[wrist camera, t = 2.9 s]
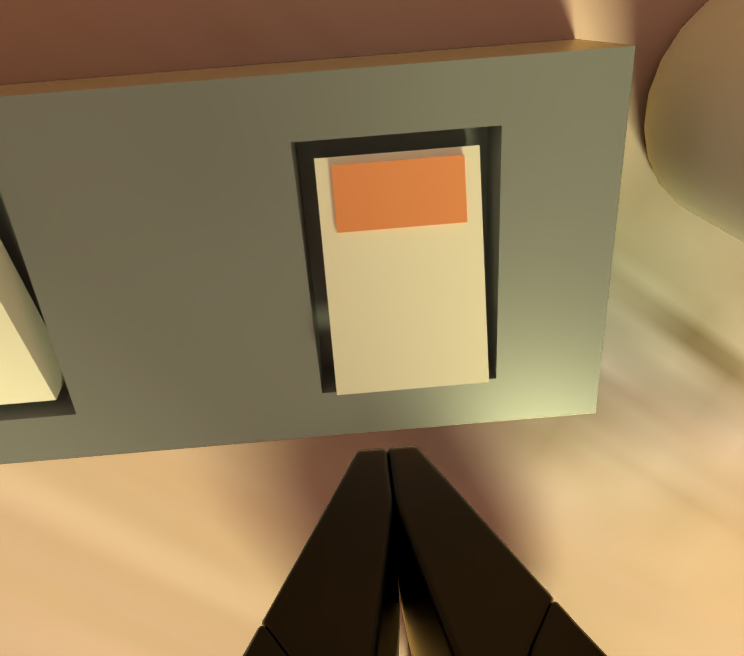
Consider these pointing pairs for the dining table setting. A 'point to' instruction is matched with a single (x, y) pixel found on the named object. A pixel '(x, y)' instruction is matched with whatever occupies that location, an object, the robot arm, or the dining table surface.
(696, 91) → the cup
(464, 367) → the rocker
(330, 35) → the dining table surface
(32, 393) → the rocker
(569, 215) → the grey rocker switch panel
